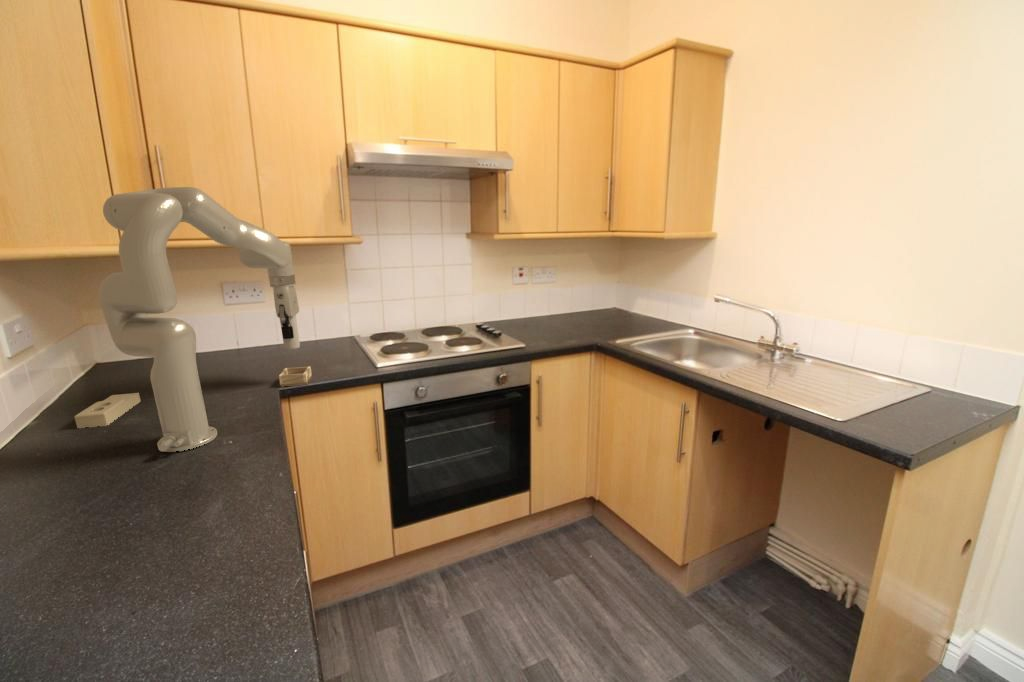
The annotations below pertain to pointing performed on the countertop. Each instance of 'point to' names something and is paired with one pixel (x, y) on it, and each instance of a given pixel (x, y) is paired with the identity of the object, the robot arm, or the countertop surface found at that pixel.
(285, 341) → the beverage can
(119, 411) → the electrical outlet
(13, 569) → the countertop surface
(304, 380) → the can holder block
